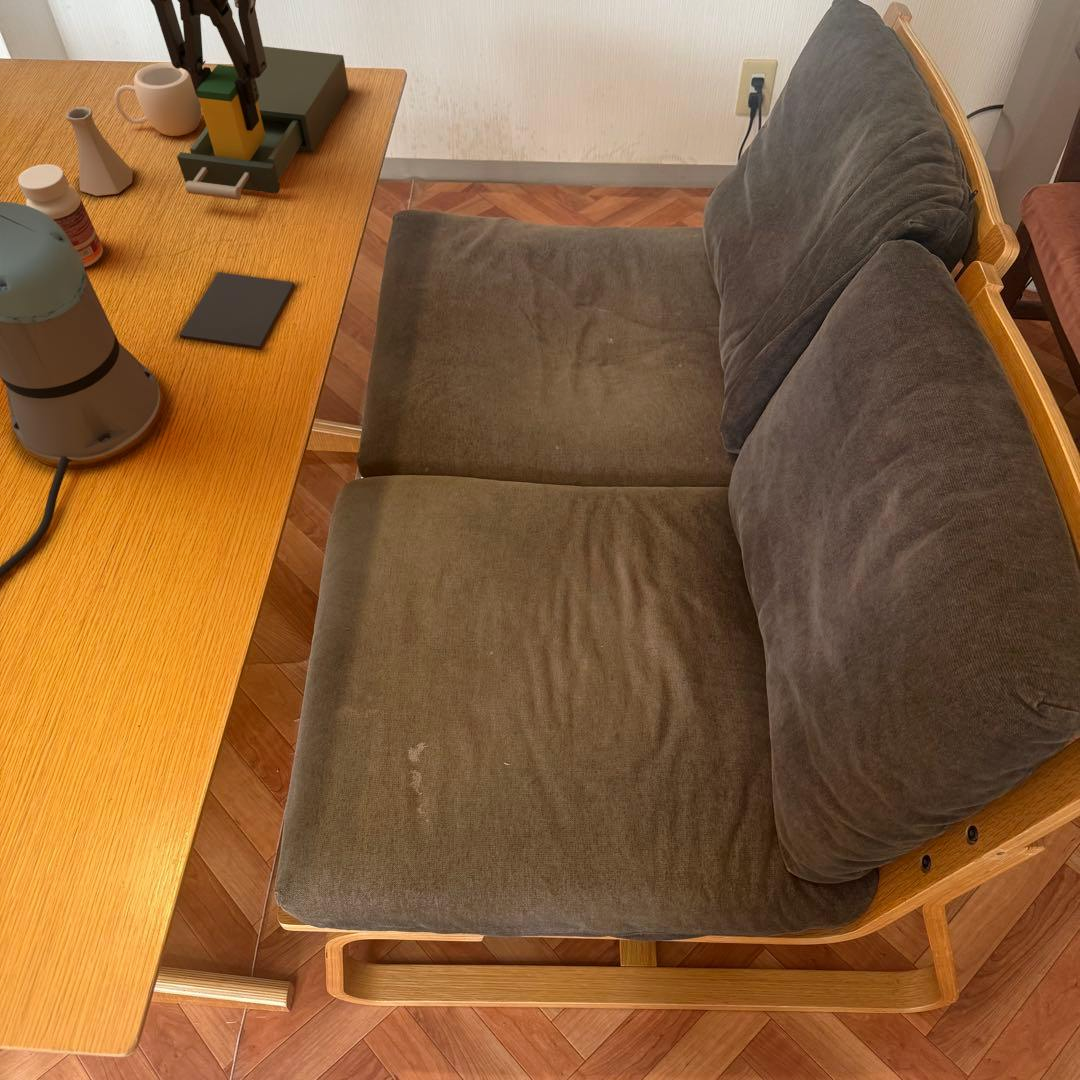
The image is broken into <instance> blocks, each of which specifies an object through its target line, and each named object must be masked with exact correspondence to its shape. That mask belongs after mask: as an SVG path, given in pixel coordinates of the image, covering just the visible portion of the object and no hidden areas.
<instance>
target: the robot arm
mask: <svg viewBox="0 0 1080 1080" xmlns="http://www.w3.org/2000/svg"><path fill="white" fill-rule="evenodd" d="M233 1H234V7H235V8H236V9H238V10H237V13H238V15H237V16H238V21H239V25H240V29H241V33H240V31H239V28H238V27H237V24H236V22H235V19H234V16H233V15H234V14H233V13H234V12H233V9H232V8H231V5H230V3H229V0H177V2H178V3H179V13H180V20H181V21H182V28H183V29H181V25H180V22H179V19H178V15H177V11H176V9H175V6H174V2H173V0H150V2H151V4H152V6H153V7H154V11H155V14H156V18H157V21H158V23H159V27H160V31H161V33H162V37H163V39H164V43H165V46H166V49H167V53H168V56H169V58H170V62H172V65H173V66H174V67H175V68H177V69H180V68H182V69H184V70H186V71H187V72H188V73H189V74H190V76H191V80H192V83H193V86H194V89H195V94H196V95H197V97H198V94H197V89H198V88H199V87H200V85H201V84H202V83H203V82H204V80H205V79H206V78H207V77H208V76H209V74H210V73H211V72H212V70H211V67H208V66H204V65H205V64H206V60H204V54H203V39H202V37H203V36H202V21H201V20H202V19H201V15H202V16H203V15H204V16H206V17H209V19H210V21H211V24H212V26H214V27H216V29H217V31H218V34H219V36H220V38H221V41H222V42H223V45H224V47H225V49H226V51H227V54H228V56H229V58H230V60H231V63H232V66H234V67H235V69H236V71H237V73H238V78H237V79H236V80H235V85H236V89H237V93H238V97H239V101H240V105H241V109H242V113H243V117H244V120H245V124H246V128H247V130H249V131H252V130H253V129H254V127H255V126H256V125H257V123H258V122H259V117H258V113H257V108H256V104H255V103H256V102H257V101H258V99H259V92H258V88H257V84H256V79H255V78H259V77H260V76H261V74H262V73H263V72H264V70H265V69H266V67H267V63H266V58H265V53H264V49H263V46H264V44H263V40H262V35H261V30H260V25H259V21H258V16H257V11H256V3H257V0H233ZM182 30H183V32H182ZM241 34H242V35H241ZM203 66H204V67H203ZM198 98H199V97H198ZM85 268H86V267H84V264H83V261H82V258H81V256H80V255H79V253H78V252H77V250H76V249H75V248H74V246H73V244H72V243H71V241H70V240H69V238H68V237H67V235H66V233H65V232H64V231H63V229H62V228H61V227H60V226H59V225H58V224H57V223H56V222H55V221H54V220H53V219H52V218H51V217H49V216H48V215H46V214H44V213H43V212H41V211H39V210H37V209H34V208H32V207H29V206H26V204H22V203H17V202H11V201H0V379H1V381H2V383H3V384H4V385H5V390H6V398H7V402H8V403H7V404H8V408H9V411H10V421H11V426H12V431H13V434H14V436H15V437H16V438H17V440H18V441H19V443H20V445H21V446H22V448H23V449H24V450H25V452H26V453H27V454H28V455H29V456H30V457H32V458H33V459H34V460H36V461H37V462H39V463H42V464H44V465H48V466H51V467H55V468H56V471H55V473H54V476H53V479H52V483H51V486H50V489H49V491H48V495H47V499H46V503H45V507H44V513H43V516H42V519H41V522H40V523H39V525H38V527H37V528H36V530H35V532H34V533H33V535H32V536H31V537H30V538H29V540H28V541H27V542H26V543H25V544H24V545H23V546H22V547H21V548H20V549H19V550H18V551H17V552H15V554H13V555H12V556H11V557H10V558H9V559H7V560H6V561H5V562H3V564H1V565H0V580H1V579H2V578H3V577H4V576H6V574H8V572H10V571H11V570H12V569H13V568H14V567H16V566H17V565H18V564H19V563H20V562H22V561H23V560H24V559H25V558H26V557H27V556H28V555H29V554H30V553H31V552H32V551H33V550H34V549H36V547H37V546H38V545H39V543H40V542H41V541H42V540H43V539H44V536H45V535H46V534H47V532H48V530H49V528H50V526H51V523H52V520H53V519H54V514H55V510H56V505H57V499H58V496H59V492H60V491H61V490H60V489H61V487H62V483H63V480H64V477H65V474H66V471H67V469H85V468H91V467H97V466H100V465H104V464H108V463H111V462H113V461H116V460H117V459H120V458H122V457H124V456H126V455H128V454H129V453H131V452H133V451H134V450H136V449H138V447H140V446H141V445H142V444H143V443H145V442H146V441H147V440H148V439H149V438H150V437H151V436H152V435H153V433H154V432H155V431H156V430H157V428H158V426H159V424H160V423H161V421H162V418H163V415H164V410H165V399H164V394H163V392H162V390H161V388H160V385H159V383H158V381H157V379H156V377H155V376H154V374H153V373H152V372H151V371H150V370H149V369H148V368H147V367H146V366H145V365H144V364H142V363H141V362H140V361H139V360H138V358H136V357H135V356H134V355H133V353H131V352H130V351H129V350H128V349H127V348H126V347H125V346H124V345H123V344H121V342H120V341H119V339H118V337H117V335H116V333H115V331H114V329H113V327H112V324H111V322H110V320H109V318H108V316H107V314H106V312H105V310H104V308H103V306H102V302H101V301H100V299H99V297H98V295H97V293H96V291H95V289H94V286H93V284H92V283H91V280H90V277H89V276H88V273H87V271H86V269H85Z"/></svg>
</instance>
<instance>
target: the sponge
mask: <svg viewBox="0 0 1080 1080" xmlns="http://www.w3.org/2000/svg"><path fill="white" fill-rule="evenodd" d="M237 78H238V73H237V71H236V69H235V67H234V65H224V64H217V65H216V66H215V67H214V68H213V69H212V70H211V73H210V74H209V76H208V77H207V78H206V79H205V80H204V82H203V83H202V84H201V85H200V87H199V88H198V89H197V94H198V97H199V101H200V105H201V113H202V114H203V118H204V122H205V125H206V126H205V127H207V129H208V133H209V136H210V139H211V143H212V146H213V150H214V153H215V157H223V158H231V159H240V160H248V161H250V159H251V158H252V157H253V155H254V154H255V152H256V151H257V149H258V148H259V146H260V145H261V144H262V142H263V141H264V139H265V138H266V136H265V132H264V128H263V123H262V119H261V115H260V110H259V106H258V102H256V103H255V104H256V108H257V113H258V117H259V122H258V123H257V125H256V126H255V127H254V129H253V130H252V131H249V130H247V128H246V124H245V120H244V117H243V113H242V109H241V105H240V101H239V97H238V93H237V89H236V85H235V80H236V79H237Z"/></svg>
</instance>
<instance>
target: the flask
mask: <svg viewBox="0 0 1080 1080" xmlns="http://www.w3.org/2000/svg"><path fill="white" fill-rule="evenodd" d="M65 115H66V116H65V118H66V121H68V122H70V124H71V126H72V129H73V131H74V135H75V139H76V144H77V151H78V152H77V155H78V175H79V176H78V177H79V178H78V179H79V180H78V181H79V191H80V192H83V193H86V194H90V195H93V196H96V197H98V196H108V195H116V194H119V193H121V192H123V191H124V190H125V189H126V188H127V187H129V186H130V185H131V184H132V183H133V174H134V171H133V170H132V168H131V167H130V166H129V165H128V163H126V162H125V161H124V159H123V158H122V157H121V156H120V155H119V154H118V153H117V152H116V150H115V149H114V148H113V147H112V146H111V145H110V143H109V142H108V140H106V139H105V138H104V136H103V134H102V133H101V131H100V130H99V128H98V127H97V125H96V123H95V120H94V118H93V109H92V108H90V107H86V106H77V107H72V108H71V109H69V110H68V111H66V114H65Z"/></svg>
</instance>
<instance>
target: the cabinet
mask: <svg viewBox="0 0 1080 1080" xmlns="http://www.w3.org/2000/svg"><path fill="white" fill-rule="evenodd" d="M263 49H264V53H265V58H266V63H267V67H266V69H265V70H264V72H263V73H262V74H261V76H260V77H259V78H255V79H256V84H257V88H258V92H259V99H258V101H257V102H258V106H259V110H260V115H265V116H274V117H282V118H291V119H299V120H301V124H302V129H303V134H304V141H303V143H302V144H301V146H300V147H299V149H298V151H299V152H309V153H313V152H314V150H315V149H316V147H317V145H318V144H319V142H320V140H321V139H322V137H323V135H324V133H325V132H326V130H327V128H328V127H329V125H330V124H331V122H332V120H333V119H334V117H335V116H336V115H337V112H338V111H339V109H340V107H341V106H342V104H343V102H344V100H345V99H346V97H347V95H349V92H350V90H349V82H348V76H347V70H346V64H345V57H344V55H343V54H337V53H328V52H327V53H326V52H318V51H309V50H300V49H292V48H291V49H290V48H283V47H274V46H273V47H272V46H266V45H265V46H264V45H263Z"/></svg>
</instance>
